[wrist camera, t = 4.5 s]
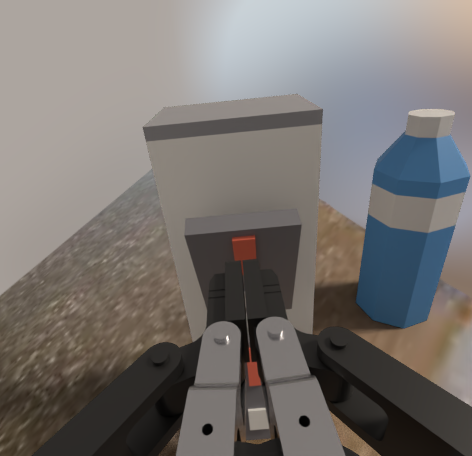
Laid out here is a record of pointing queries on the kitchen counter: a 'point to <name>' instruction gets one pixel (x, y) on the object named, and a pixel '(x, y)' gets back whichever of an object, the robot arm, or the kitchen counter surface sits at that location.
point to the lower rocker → (255, 404)
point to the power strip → (238, 180)
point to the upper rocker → (246, 245)
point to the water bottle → (411, 220)
